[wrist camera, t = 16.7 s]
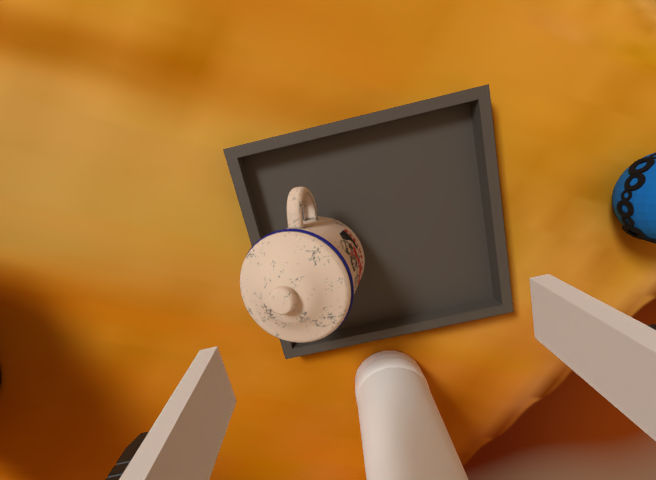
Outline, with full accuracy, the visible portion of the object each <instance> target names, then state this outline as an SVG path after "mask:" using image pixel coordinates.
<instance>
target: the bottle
mask: <svg viewBox="0 0 656 480" xmlns="http://www.w3.org/2000/svg"><path fill="white" fill-rule="evenodd" d="M355 394H356V400H357V405H358V411H359V419H360V428H361V436H362V445H363V453H364V461H365V470H366V478H367V480H468V477H467V475H466V473H465V471H464V468H463V466H462V464H461V461H460V459H459V457H458V454H457V452H456V450H455V447H454V445H453V443H452V440H451V438H450V436H449V433H448V431H447V429H446V427H445V424H444V422H443V420H442V417H441V415H440V413H439V410H438V408H437V406H436V403H435V401H434V399H433V396H432V394H431V392H430V389H429V385H428V382H427V380H426V378H425V376H424V375H423V373H422V371H421V369H420V367H419V366H418V364H417V362H416V361H415V360H414V359H413V358H411V357H410V356H409V355H407V354H405V353H402V352H399V351H396V350H388V351H381V352H378V353H375V354H372V355H371V356H369V357H368V358H367V359H365V360H364V361H363V362H362V363H361V365H360V366H359V368H358V369H357V372H356V377H355Z"/></svg>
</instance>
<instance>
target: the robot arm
mask: <svg viewBox="0 0 656 480" xmlns="http://www.w3.org/2000/svg"><path fill="white" fill-rule="evenodd" d="M530 288H531V299H532V310H533V321H534V333H535V338H536V339H537V340H538V341H539V342H541V343H542V344H543V345H544V346H545V347H546V348H548V349H549V350H550V351H551V352H552V353H553V354H555V355H556V356H557V357H558V358H559V359H560V360H561V361H563V362H564V363H565V364H566V365H567V366H568V367H570V368H571V369H572V370H573V371H574V372H576V373H577V374H578V375H579V376H580V377H581V378H583V379H584V380H585V381H586V382H587V383H588V384H589V385H591V386H592V387H593V388H594V389H595V390H597V391H598V392H599V393H600V394H601V395H602V396H603V397H605V398H606V399H607V400H608V401H609V402H611V403H612V404H613V405H614V406H615V407H616V408H618V409H619V410H620V411H621V412H622V413H623V414H625V415H626V416H627V417H628V418H629V419H630V420H632V421H633V422H634V423H635V424H636V425H637V426H639V427H640V428H641V429H642V430H643V431H644V432H645V433H647V434H648V435H649V436H650V437H651V438H652V439H654V440H655V441H656V325H654V324H652V325H648V326H647V325H645V324H643V323H641V322H639V321H637V320H635V319H633V318H631V317H630V316H628V315H626V314H624V313H622V312H620V311H618V310H616V309H614V308H612V307H611V306H609V305H607V304H605V303H603V302H601V301H599V300H597V299H595V298H593V297H592V296H590V295H588V294H586V293H584V292H582V291H580V290H578V289H576V288H574V287H572V286H571V285H569V284H567V283H565V282H563V281H561V280H559V279H557V278H555V277H553V276H552V275H550V274H546V275H541V276H537V277H532V278H530ZM0 382H1V373H0ZM235 404H236V398H235V396H234V393H233V390H232V387H231V384H230V381H229V378H228V375H227V373H226V370H225V367H224V364H223V361H222V358H221V355H220V353H219V350H218V347H212V348H208V349H203V350H200V351H199V352H198V354H197V356H196V357H195V359H194V360H193V362H192V364H191V365H190V367H189V368H188V370H187V372H186V373H185V375H184V376H183V378H182V380H181V381H180V383H179V384H178V386H177V388H176V389H175V391H174V392H173V394H172V396H171V397H170V399H169V400H168V402H167V404H166V405H165V407H164V408H163V410H162V412H161V413H160V415H159V417H158V418H157V420H156V421H155V423H154V425H153V426H152V428H151V429H150V431H149V432H145V433H141V434H140V435H139V436H138V437H137V438H136V439H135V440H134V441H133V442H132V443H131V444H130V445H129V446H128V447H127V448H126V449H125V451H124V452H123V454H122V455H121V457H120V458H119V460H118V461H117V464H116V466H114V467H113V469H112V470H111V472H110V473H109V475H108V479H105V480H209V479H210V476H211V473H212V470H213V467H214V464H215V462H216V459H217V456H218V453H219V450H220V447H221V444H222V441H223V438H224V436H225V433H226V430H227V427H228V424H229V421H230V418H231V415H232V412H233V410H234V407H235Z"/></svg>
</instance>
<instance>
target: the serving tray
mask: <svg viewBox="0 0 656 480" xmlns="http://www.w3.org/2000/svg"><path fill="white" fill-rule="evenodd" d="M223 150H224V154H225V157H226V160H227V164H228V167H229V170H230V174H231V177H232V181H233V184H234V187H235V191H236V194H237V197H238V201H239V204H240V207H241V211H242V214H243V218H244V221H245V224H246V228H247V231H248V234H249V238H250V241H251V244H252V247H253V245H254V244H255V243H256V242H257V241H259V240H260V239H261V238H262V237H264V236H266V235H267V234H270V233H272V232H275V231H278V230H283V229H287V228H288V221H287V199H288V195H289V192H290V191H291V190H292V189H293V188H295V187H306V188H307V189H309V190H310V192H311V193H312V195H313V197H314V200H315V203H316V209H317V217H328V218H332V219H335V220H338V221H340V222H342V223H343V224H345V225H346V226H348V227H349V228H350V229H351V230H352V231H353V232H354V233H355V235H356V236H357V237H358V239H359V241H360V243H361V245H362V248H363V251H364V257H365V265H364V272H363V275H362V277H361V280H360V282H359V284H358V286H357V289H356V291H355V293H354V296H353V302H352V306H351V309H350V312H349V314H348V316H347V318H346V319H345V321H344V322H343V323H342V325H341V326H340V327H339V328H338V329H337V330H335V331H334V332H333V333H331V334H330V335H328V336H326V337H324V338H322V339H319V340H316V341H312V342H305V343H298V342H290V341H286V340H282V339H280V338H279V339H280V342H281V345H282V349H283V352H284V355H285V359H288V358H293V357H298V356H303V355H308V354H312V353H317V352H322V351H327V350H332V349H336V348H341V347H346V346H351V345H356V344H361V343H365V342H370V341H375V340H380V339H385V338H390V337H394V336H399V335H404V334H409V333H414V332H418V331H423V330H428V329H433V328H438V327H443V326H447V325H452V324H457V323H462V322H467V321H472V320H476V319H481V318H486V317H491V316H496V315H500V314H505V313H510V312H513V303H512V294H511V285H510V275H509V266H508V257H507V248H506V238H505V229H504V220H503V211H502V202H501V192H500V183H499V174H498V165H497V155H496V146H495V137H494V128H493V118H492V109H491V100H490V91H489V84H488V85H484V86H480V87H476V88H472V89H468V90H464V91H459V92H455V93H451V94H447V95H443V96H439V97H435V98H431V99H427V100H423V101H419V102H415V103H410V104H406V105H402V106H398V107H394V108H390V109H386V110H382V111H378V112H374V113H370V114H366V115H361V116H357V117H353V118H349V119H345V120H341V121H337V122H333V123H329V124H325V125H321V126H317V127H312V128H308V129H304V130H300V131H296V132H292V133H288V134H284V135H280V136H276V137H272V138H268V139H264V140H259V141H255V142H251V143H247V144H243V145H239V146H235V147H231V148H227V149H223ZM302 214H303V208H302ZM303 220H304V214H303Z"/></svg>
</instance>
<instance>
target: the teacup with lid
mask: <svg viewBox="0 0 656 480" xmlns="http://www.w3.org/2000/svg"><path fill="white" fill-rule="evenodd" d="M302 208H303V214H304V220H303V214H302ZM287 221H288V228H287V229H283V230H278V231H275V232H272V233H270V234H267V235H266V236H264V237H262V238H261V239H260V240H259V241H257V242H256V243H255V244H254V245H253V247H252V248H251V249H250V251H249V252H248V254H247V256H246V258H245V260H244V262H243V265H242V269H241V274H240V289H241V294H242V298H243V301H244V304H245V306H246V308H247V310H248V312H249V314H250V315H251V316H252V318H253V319H254V320H255V322H256V323H257V324H258V325H259V326H260V327H262V328H263V329H264V330H265V331H267V332H268V333H270V334H271V335H273V336H275V337H277V338H280V339H282V340H286V341H290V342H298V343H305V342H312V341H316V340H319V339H322V338H324V337H326V336H328V335H330V334H331V333H333V332H334V331H335V330H337V329H338V328H339V327H340V326H341V325H342V323H343V322H344V321H345V319H346V318H347V316H348V314H349V312H350V309H351V306H352V302H353V296H354V293H355V291H356V289H357V286H358V284H359V282H360V280H361V277H362V275H363V272H364V265H365V257H364V251H363V248H362V245H361V243H360V241H359V239H358V237H357V236H356V235H355V233H354V232H353V231H352V230H351V229H350V228H349V227H348V226H346V225H345V224H343V223H342V222H340V221H338V220H335V219H332V218H328V217H317V209H316V203H315V200H314V197H313V195H312V193H311V192H310V190H309V189H307V188H306V187H295V188H293V189H292V190H291V191H290V192H289V195H288V199H287Z"/></svg>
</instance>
